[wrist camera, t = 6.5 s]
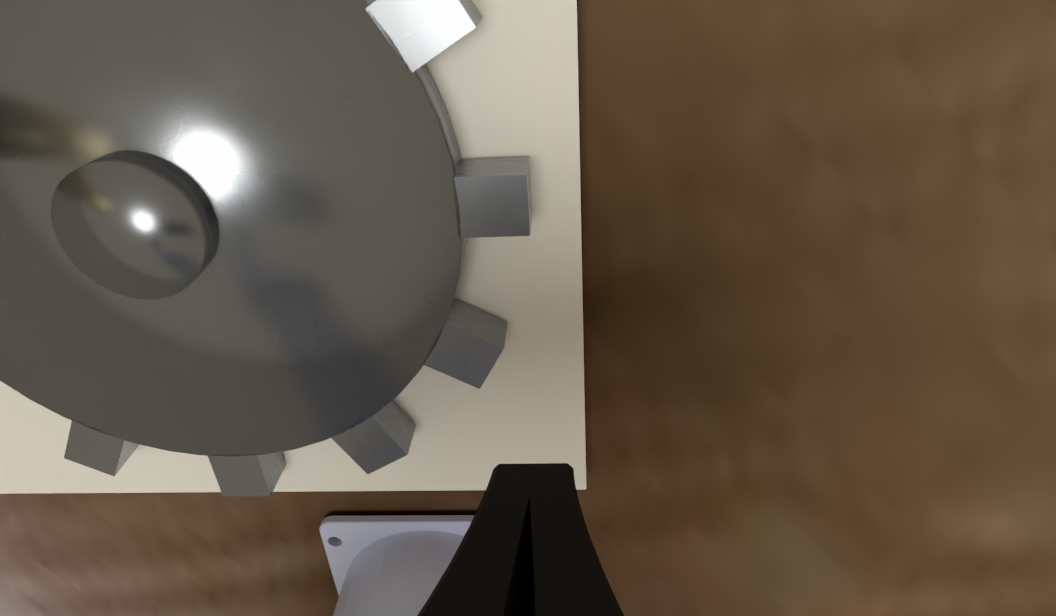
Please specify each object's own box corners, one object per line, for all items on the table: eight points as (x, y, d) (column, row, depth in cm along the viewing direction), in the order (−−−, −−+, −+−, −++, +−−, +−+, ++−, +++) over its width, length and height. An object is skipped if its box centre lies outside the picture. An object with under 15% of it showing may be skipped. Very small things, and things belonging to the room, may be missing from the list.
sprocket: (674, 35, 16) (717, 90, 12) (381, 538, 25) (340, 681, 21) (-243, -488, 13) (-718, -715, 8) (-201, 321, 22) (-410, 436, 17)
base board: (585, 468, 25) (586, 502, 23) (-2, 474, 26) (-34, 506, 25) (568, -372, 14) (569, -403, 12) (-445, -278, 15) (-546, -297, 14)
